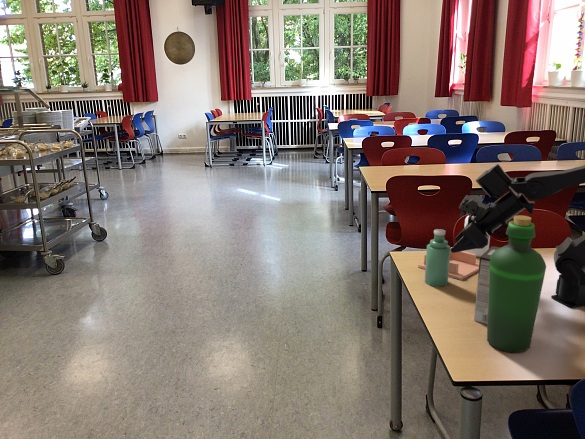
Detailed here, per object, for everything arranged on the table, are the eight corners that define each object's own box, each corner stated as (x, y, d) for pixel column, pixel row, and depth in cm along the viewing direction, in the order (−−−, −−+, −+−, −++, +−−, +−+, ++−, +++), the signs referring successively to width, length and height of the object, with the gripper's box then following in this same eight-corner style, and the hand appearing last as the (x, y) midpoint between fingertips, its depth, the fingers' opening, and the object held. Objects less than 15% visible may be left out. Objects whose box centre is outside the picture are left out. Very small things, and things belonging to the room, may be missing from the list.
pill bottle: (492, 257, 155) (496, 211, 151) (466, 257, 155) (470, 211, 151) (483, 248, 163) (487, 205, 158) (458, 249, 163) (462, 205, 159)
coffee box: (485, 306, 122) (492, 245, 117) (513, 314, 118) (520, 250, 113) (472, 320, 115) (478, 255, 110) (500, 328, 111) (508, 262, 107)
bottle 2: (524, 332, 109) (540, 210, 102) (543, 358, 99) (562, 225, 91) (475, 330, 110) (487, 210, 103) (489, 356, 100) (502, 224, 93)
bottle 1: (452, 285, 135) (456, 233, 131) (432, 288, 133) (436, 235, 129) (439, 276, 140) (443, 226, 136) (420, 279, 139) (423, 228, 135)
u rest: (484, 267, 147) (486, 255, 146) (461, 280, 138) (462, 267, 137) (442, 255, 157) (443, 244, 156) (418, 267, 148) (418, 255, 147)
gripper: (483, 180, 134) (438, 214, 141) (478, 194, 117) (427, 233, 125) (511, 210, 133) (464, 244, 140) (510, 229, 116) (457, 266, 124)
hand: (453, 246), depth 132 cm, fingers open, 9 cm apart
